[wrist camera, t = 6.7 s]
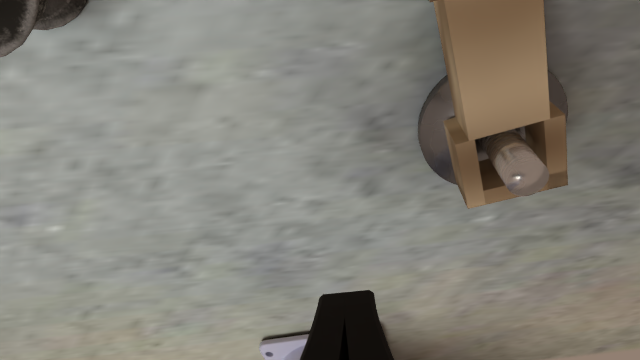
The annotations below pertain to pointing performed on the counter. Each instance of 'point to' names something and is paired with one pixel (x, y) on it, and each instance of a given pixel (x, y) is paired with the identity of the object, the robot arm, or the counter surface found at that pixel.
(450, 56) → the link
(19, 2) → the dark grey tall piece
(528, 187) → the pintle base
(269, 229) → the counter surface
